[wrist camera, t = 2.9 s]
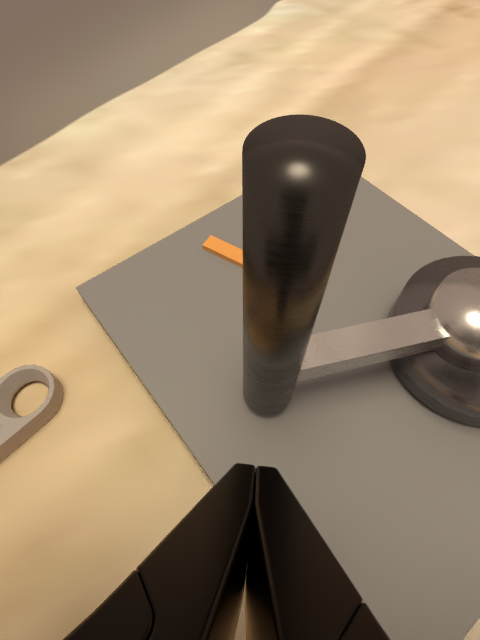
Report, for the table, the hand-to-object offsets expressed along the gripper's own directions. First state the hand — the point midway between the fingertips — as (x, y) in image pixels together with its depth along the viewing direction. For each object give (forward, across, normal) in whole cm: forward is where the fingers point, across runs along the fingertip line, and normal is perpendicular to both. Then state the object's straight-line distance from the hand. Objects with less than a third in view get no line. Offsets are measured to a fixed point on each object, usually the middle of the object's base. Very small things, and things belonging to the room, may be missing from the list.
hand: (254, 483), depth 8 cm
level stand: (+11, -4, 0) cm, 12 cm away
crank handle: (+9, -6, +1) cm, 11 cm away
